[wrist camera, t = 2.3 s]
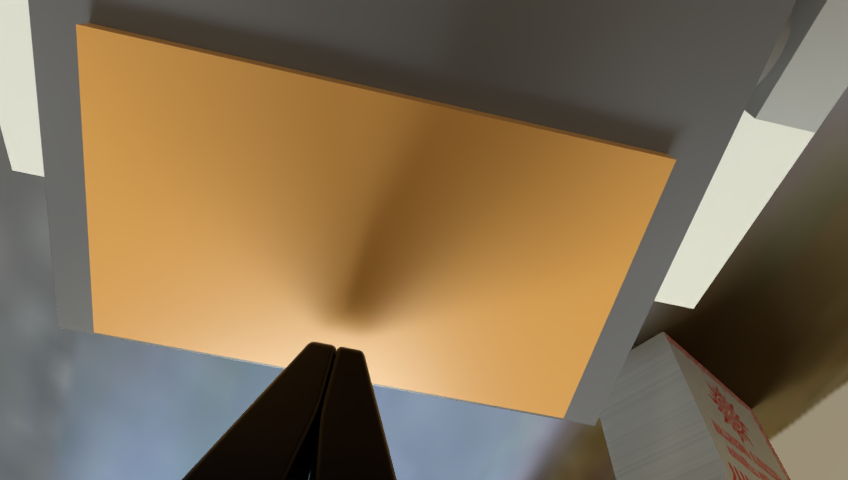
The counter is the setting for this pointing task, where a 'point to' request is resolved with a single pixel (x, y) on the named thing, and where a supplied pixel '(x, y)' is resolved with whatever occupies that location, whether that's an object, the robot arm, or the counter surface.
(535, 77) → the rocker switch
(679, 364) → the printed cardboard box
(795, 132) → the breaker housing
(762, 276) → the counter surface
